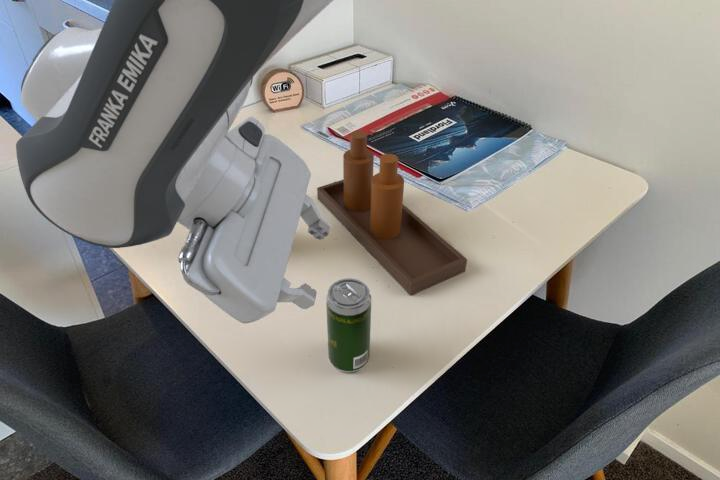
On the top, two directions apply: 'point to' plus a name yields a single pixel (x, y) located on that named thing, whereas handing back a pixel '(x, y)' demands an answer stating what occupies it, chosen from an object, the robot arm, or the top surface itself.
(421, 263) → the tray
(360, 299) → the beer can
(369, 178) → the amber bottle far
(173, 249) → the top surface
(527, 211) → the top surface
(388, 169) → the amber bottle mid
